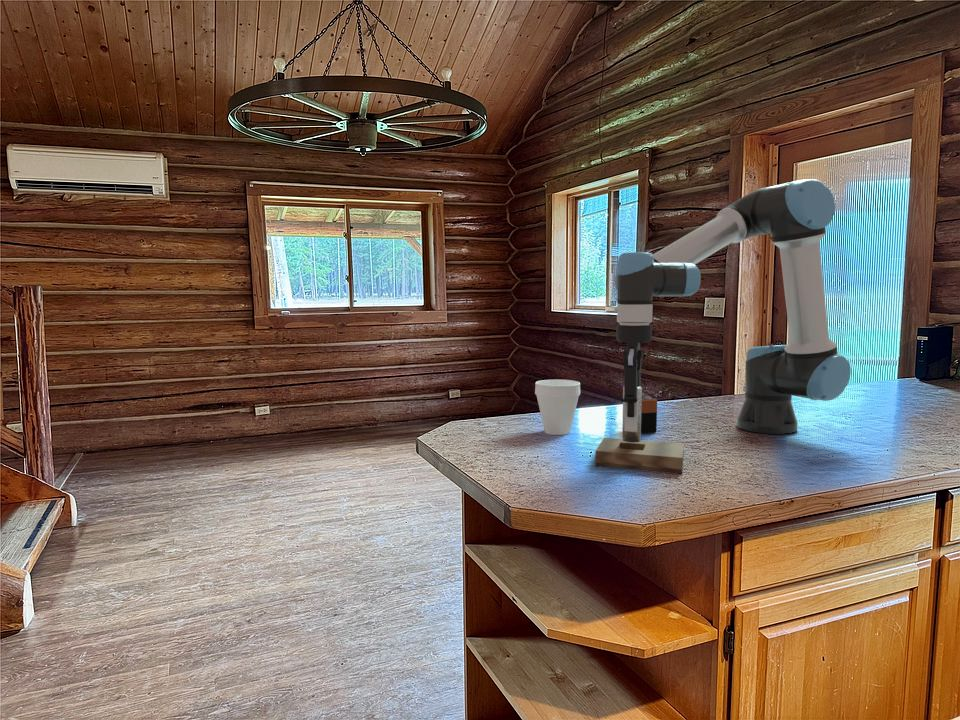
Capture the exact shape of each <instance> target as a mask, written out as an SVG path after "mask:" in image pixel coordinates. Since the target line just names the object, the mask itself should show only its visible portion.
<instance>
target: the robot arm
mask: <svg viewBox="0 0 960 720" xmlns="http://www.w3.org/2000/svg"><path fill="white" fill-rule="evenodd" d="M835 212H836V201H835V197H834V195H833V193H832V191H831V189H830V188H829V186H827V185H825V184H824V183H823V181H821V180H818V179H813V178H809V179H797V180H794V181H790V182H785V183H781V184H776V185H773V186H765V187H760V188H758V189H755V190H753V191H752V192H749V193H748V194H745V196H742V197H741V198H738V199H737V200H735V201H734V202H732V203H731V204H728V205H727V206H725V207H723V208H722V209H720V211H718V212H717V214H716V217H714V218H713V219H711V220H709V221H708V222H706V223H704V224H703V225H701V226H699V227H698V228H695V230H692V231H691V232H688V233H687V234H685V235H684V236H681V237H680V238H679V239H676V240H675V241H673V242H672V243H670V244H668V245H667V246H665V247H664V248H662V249H660V250H658V251H656V252H654V253H652V252H647V251H646V252H643V251H636V252H635V251H634V252H633V251H632V252H630V251H629V252H624V253H621V254H620V255H619V257H618V261H617V271H616V272H615V273H616V274H615V276H614V286H615V289H616V308H615V309H614V310H613V312H614V313H615V314H616V322H617V323H619V324H618V325H617V326H616V328H615V329H616V332H615V335H616V336H615V339H616V341H617V342H619V343H626V349H625V350H623V352H622V353H623V356H622V357H623V360H624V361H623V365H624V366H623V369H624V385H623V387H624V399H623V398H621V402H622V403H623V402H625V423H624V431H630V432H637V422H638V402H637V401H638V399H637V387H638V386H640V387H641V382H642V380H641V378H642V377H641V375H642V368H643V357H644V349H641V344H646V343H650V342H651V341H652V336H653V335H652V333H653V332H652V331H653V327H652V325H650V324H651V323H652V322H653V308H654V307H653V300H654V299H653V297H679V298H683V297H690V296H693V295H694V294H696V293H697V292H698V290H699V288H700V286H701V277H702V275H701V274H702V273H701V271H700V269H699V267H698V266H697V265H696V264H699V263H700V262H701V261H703V260H705V259H707V258H708V257H710V256H712V255H713V254H714V253H716V252H718V251H720V250H721V249H723V248H725V247H727V246H728V245H730V244H738V243H741V242H742V241H744V240H747V239H749V238H752V237H756V236H761V235H770V237H771V243H772V244H773V245H775V246H776V247H778V249H779V255H780V264H781V273H782V280H783V281H782V283H783V289H784V290H783V291H784V299H785V307H786V317H787V325H788V333H789V343H788V344H781V345H778V344H777V345H764V346H761V345H760V346H752V347H750V348H749V349H748V350H747V352H746V359H745V381H744V382H745V383H744V384H745V385H744V386H745V387H744V400H743V403H742V406H741V408H740V411H739V413H738V416H737V418H736V427H737V428H738V429H740V430H743V431H748V432H752V433H757V434H759V433H760V434H769V435H786V434H785V433H790V434H793V433H792V432H795V431H797V432H798V426H799V425H798V419H797V416H796V414H795V409H794V407H793V404H792V398H793V397H799V398H802V399H803V398H804V399H808V400H811V401H825V402H828V401H832V400H834V399H837V398H838V397H840V395H842V394H843V392H844V391H845V389H846V388H847V386H848V385H849V382H850V378H851V372H852V371H851V370H852V369H851V363H850V362H849V360H847V358H846V356H844V355H841V354H838V347H837V346H838V345H837V343H836V342H835V341H833V340H831V339H830V335H829V328H828V327H829V326H828V317H827V307H826V297H825V285H824V278H823V277H824V276H823V266H822V258H821V257H822V256H821V247H820V242H821V240H822V239H823V238H824V236H826V234H827V233H826V227H828V225H830V224H831V222H832V221H833V219H834V218H833V217H834V216H835ZM643 394H644V393H643ZM643 394H642V398H643ZM795 433H796V432H795Z"/></svg>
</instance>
